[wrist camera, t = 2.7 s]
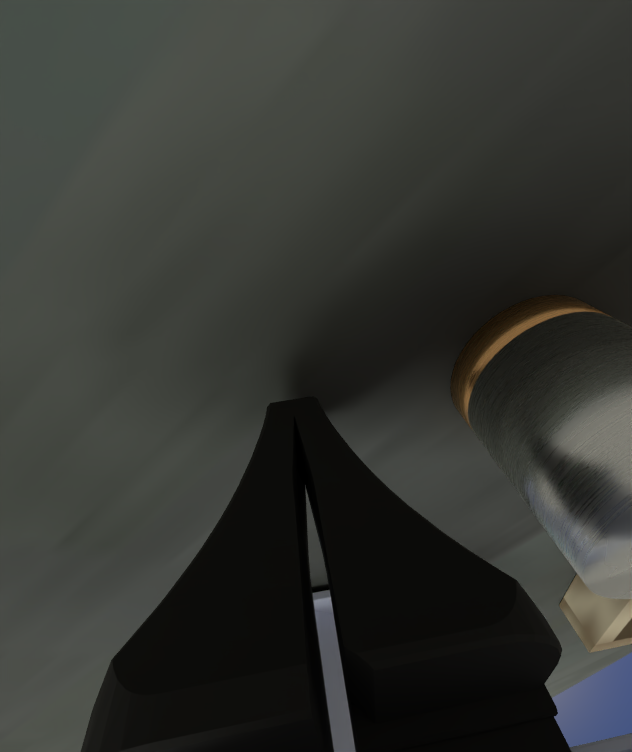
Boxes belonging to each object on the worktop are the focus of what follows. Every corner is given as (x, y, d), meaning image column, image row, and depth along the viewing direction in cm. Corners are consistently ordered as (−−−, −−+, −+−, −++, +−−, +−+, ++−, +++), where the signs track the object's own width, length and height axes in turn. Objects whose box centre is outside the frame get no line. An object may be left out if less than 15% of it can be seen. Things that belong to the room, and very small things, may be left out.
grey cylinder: (573, 414, 14) (755, 575, 9) (443, 436, 13) (554, 616, 8) (624, 284, 11) (930, 410, 6) (460, 307, 11) (641, 462, 6)
